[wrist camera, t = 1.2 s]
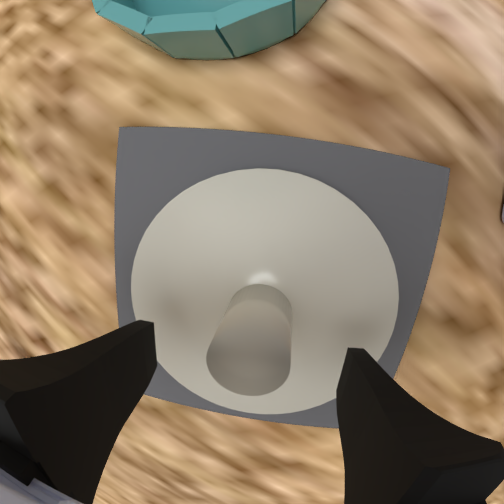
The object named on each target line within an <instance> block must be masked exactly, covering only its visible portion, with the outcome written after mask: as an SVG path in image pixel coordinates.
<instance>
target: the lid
mask: <svg viewBox="0 0 504 504" xmlns="http://www.w3.org/2000/svg"><path fill="white" fill-rule="evenodd" d="M131 296H132V305H133V310H134V314H135V318H136V321H137V320H144V321H149V322H154V331H155V343H156V355H157V361H158V362H159V363H160V364H161V366H162V367H163V368H164V369H165V370H166V371H167V372H168V373H169V374H170V375H171V376H172V377H173V378H174V379H175V380H177V381H178V382H179V383H180V384H182V385H183V386H184V387H186V388H187V389H188V390H190V391H191V392H193V393H195V394H197V395H198V396H200V397H202V398H204V399H206V400H208V401H210V402H212V403H215V404H217V405H220V406H223V407H226V408H229V409H233V410H237V411H242V412H247V413H255V414H284V413H293V412H298V411H302V410H307V409H310V408H313V407H316V406H319V405H322V404H324V403H326V402H328V401H331V400H333V399H335V398H336V389H337V385H338V382H339V378H340V375H341V371H342V368H343V364H344V360H345V356H346V352H347V349H348V347H349V348H364V349H365V350H366V351H367V352H368V353H369V354H370V355H371V356H372V357H373V359H374V360H375V361H376V362H377V361H378V360H379V359H380V357H381V355H382V354H383V352H384V350H385V348H386V347H387V345H388V342H389V340H390V338H391V335H392V333H393V330H394V326H395V322H396V318H397V313H398V302H399V291H398V279H397V274H396V269H395V264H394V262H393V259H392V256H391V253H390V251H389V248H388V246H387V244H386V242H385V241H384V239H383V237H382V235H381V233H380V232H379V230H378V229H377V228H376V226H375V225H374V224H373V222H372V221H371V220H370V218H369V217H368V216H367V215H366V214H365V213H364V212H363V211H362V210H361V209H360V208H359V207H358V206H357V205H356V204H355V203H354V202H352V201H351V200H350V199H348V198H347V197H346V196H344V195H343V194H341V193H340V192H339V191H337V190H336V189H334V188H333V187H331V186H329V185H327V184H325V183H323V182H321V181H319V180H317V179H314V178H312V177H309V176H306V175H303V174H300V173H296V172H291V171H286V170H281V169H268V168H254V169H243V170H236V171H232V172H228V173H223V174H219V175H216V176H213V177H211V178H208V179H206V180H203V181H201V182H198V183H197V184H195V185H193V186H191V187H190V188H188V189H186V190H184V191H183V192H181V193H180V194H179V195H177V196H176V197H175V198H174V199H172V200H171V201H170V202H169V203H168V204H167V205H166V206H165V207H164V208H163V209H162V210H161V211H160V212H159V213H158V214H157V215H156V216H155V218H154V219H153V221H152V222H151V224H150V225H149V227H148V228H147V229H146V231H145V233H144V235H143V237H142V239H141V242H140V244H139V246H138V249H137V252H136V255H135V259H134V263H133V269H132V275H131Z"/></svg>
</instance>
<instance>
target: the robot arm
mask: <svg viewBox="0 0 504 504" xmlns="http://www.w3.org/2000/svg"><path fill="white" fill-rule="evenodd" d="M502 221H503V223H504V206H503V212H502ZM156 368H157V355H156V343H155V331H154V322H149V321H144V320H137V321H134V322H132V323H129V324H127V325H125V326H123V327H121V328H118V329H116V330H114V331H112V332H110V333H107V334H105V335H103V336H101V337H98V338H96V339H93V340H91V341H88V342H86V343H83V344H81V345H78V346H76V347H73V348H70V349H67V350H63V351H59V352H56V353H52V354H47V355H42V356H37V357H31V358H23V359H12V360H0V504H92V503H93V500H94V496H95V493H96V490H97V487H98V484H99V481H100V478H101V475H102V472H103V470H104V467H105V465H106V462H107V460H108V457H109V455H110V452H111V450H112V448H113V446H114V443H115V441H116V439H117V437H118V435H119V433H120V431H121V429H122V427H123V425H124V424H125V422H126V421H127V419H128V418H129V416H130V414H131V413H132V411H133V410H134V408H135V407H136V405H137V403H138V402H139V400H140V399H141V397H142V396H143V394H144V392H145V391H146V389H147V388H148V386H149V384H150V382H151V379H152V377H153V375H154V373H155V370H156ZM336 408H337V418H338V425H339V431H340V438H341V444H342V451H343V457H344V467H345V500H344V504H487V503H486V501H485V499H486V498H487V497H488V496H489V495H490V494H491V493H492V492H493V491H494V490H495V489H496V488H497V487H498V485H499V484H500V483H501V482H502V481H503V480H504V448H503V446H502V444H501V443H500V442H497V441H494V440H491V439H488V438H485V437H482V436H479V435H476V434H474V433H471V432H469V431H467V430H464V429H462V428H460V427H458V426H456V425H454V424H452V423H450V422H448V421H447V420H445V419H443V418H442V417H440V416H438V415H437V414H435V413H433V412H432V411H430V410H429V409H428V408H426V407H425V406H424V405H422V404H421V403H419V402H418V401H417V400H416V399H414V398H413V397H412V396H411V395H409V394H408V393H407V392H406V391H405V390H404V389H403V388H402V387H401V386H399V385H398V384H397V383H396V382H395V381H394V380H393V379H392V378H391V377H390V376H389V375H388V374H387V373H386V371H385V370H384V369H383V368H382V367H381V366H380V365H379V364H378V363H377V362H376V361H375V360H374V359H373V357H372V356H371V355H370V354H369V353H368V352H367V351H366V350H365V349H364V348H349V347H348V349H347V352H346V356H345V360H344V364H343V368H342V371H341V375H340V378H339V382H338V385H337V389H336Z"/></svg>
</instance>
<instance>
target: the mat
mask: <svg viewBox="0 0 504 504" xmlns="http://www.w3.org/2000/svg"><path fill="white" fill-rule="evenodd" d="M254 168H268V169H281V170H286V171H291V172H296V173H300V174H303V175H306V176H309V177H312V178H314V179H317V180H319V181H321V182H323V183H325V184H327V185H329V186H331V187H333V188H334V189H336V190H337V191H339V192H340V193H341V194H343V195H344V196H346V197H347V198H348V199H350V200H351V201H352V202H354V203H355V204H356V205H357V206H358V207H359V208H360V209H361V210H362V211H363V212H364V213H365V214H366V215H367V216H368V217H369V218H370V220H371V221H372V222H373V224H374V225H375V226H376V228H377V229H378V230H379V232H380V233H381V235H382V237H383V239H384V241H385V242H386V244H387V246H388V248H389V251H390V253H391V256H392V259H393V262H394V264H395V269H396V274H397V279H398V291H399V302H398V313H397V318H396V322H395V326H394V330H393V333H392V335H391V338H390V340H389V342H388V345H387V347H386V348H385V350H384V352H383V354H382V355H381V357H380V359H379V360H378V361H377V363H378V364H379V365H380V366H381V367H382V368H383V369H384V370H385V371H386V373H387V374H388V375H389V376H390V377H391V378H392V379H393V378H394V376H395V373H396V371H397V368H398V366H399V363H400V361H401V358H402V356H403V353H404V350H405V348H406V345H407V342H408V339H409V337H410V334H411V331H412V328H413V325H414V322H415V319H416V316H417V313H418V310H419V307H420V303H421V300H422V297H423V294H424V290H425V287H426V283H427V280H428V276H429V272H430V268H431V265H432V261H433V257H434V253H435V248H436V244H437V240H438V235H439V231H440V226H441V221H442V216H443V210H444V205H445V199H446V193H447V187H448V180H449V173H450V168H447V167H443V166H439V165H436V164H432V163H428V162H424V161H420V160H416V159H412V158H407V157H403V156H399V155H394V154H390V153H385V152H380V151H375V150H370V149H365V148H360V147H355V146H349V145H344V144H338V143H332V142H325V141H319V140H312V139H305V138H298V137H290V136H282V135H274V134H265V133H255V132H244V131H232V130H218V129H201V128H178V127H119V138H118V150H117V164H116V183H115V274H116V293H117V308H118V320H119V328H121V327H123V326H125V325H127V324H129V323H132V322H134V321H136V318H135V314H134V310H133V305H132V296H131V275H132V269H133V263H134V259H135V255H136V252H137V249H138V246H139V244H140V242H141V239H142V237H143V235H144V233H145V231H146V229H147V228H148V227H149V225H150V224H151V222H152V221H153V219H154V218H155V216H156V215H157V214H158V213H159V212H160V211H161V210H162V209H163V208H164V207H165V206H166V205H167V204H168V203H169V202H170V201H171V200H172V199H174V198H175V197H176V196H177V195H179V194H180V193H181V192H183V191H184V190H186V189H188V188H190V187H191V186H193V185H195V184H197V183H198V182H201V181H203V180H206V179H208V178H211V177H213V176H216V175H219V174H223V173H228V172H232V171H236V170H243V169H254ZM144 394H145V395H148V396H151V397H155V398H159V399H162V400H166V401H170V402H174V403H178V404H182V405H186V406H190V407H194V408H199V409H203V410H208V411H213V412H218V413H223V414H228V415H233V416H239V417H245V418H251V419H257V420H264V421H271V422H278V423H286V424H294V425H304V426H314V427H327V428H339V425H338V418H337V408H336V398H335V399H333V400H331V401H328V402H326V403H324V404H322V405H319V406H316V407H313V408H310V409H307V410H302V411H298V412H293V413H284V414H255V413H247V412H242V411H237V410H233V409H229V408H226V407H223V406H220V405H217V404H215V403H212V402H210V401H208V400H206V399H204V398H202V397H200V396H198V395H197V394H195V393H193V392H191V391H190V390H188V389H187V388H186V387H184V386H183V385H182V384H180V383H179V382H178V381H177V380H175V379H174V378H173V377H172V376H171V375H170V374H169V373H168V372H167V371H166V370H165V369H164V368H163V367H162V366H161V364H160V363H159V362H158V361H157V368H156V370H155V373H154V375H153V377H152V379H151V382H150V384H149V386H148V388H147V389H146V391H145V392H144Z"/></svg>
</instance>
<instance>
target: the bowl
mask: <svg viewBox="0 0 504 504" xmlns="http://www.w3.org/2000/svg"><path fill="white" fill-rule="evenodd" d="M325 1H326V0H92V2H93V5H94V8H95V11H96V13H97V14H98V15H99V16H101V17H103V18H104V19H106V20H108V21H109V22H111V23H113V24H114V25H116V26H118V27H119V28H121V29H122V30H124V31H126V32H127V33H129V34H130V35H132V36H133V37H135V38H137V39H139V40H141V41H143V42H145V43H147V44H149V45H151V46H152V47H154V48H156V49H157V50H160V51H162V52H164V53H166V54H167V55H169V56H171V57H173V58H174V57H175V58H176V59H177V58H187V59H193V60H221V59H228V58H235V57H240V56H244V55H248V54H252V53H255V52H258V51H260V50H263V49H266V48H268V47H271V46H273V45H275V44H277V43H280V42H281V41H283V40H285V39H286V38H288V37H290V36H293V34H294V33H295V34H296V33H297V32H298V31H299V30H300V29H301V28H302V27H304V26H305V25H306V24H307V23H308V22H309V21H310V20H311V19H312V18H313V17H314V15H315V14H316V13H317V12H318V10H319V9H320V8H321V6H322V4H323V3H324V2H325Z"/></svg>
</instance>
